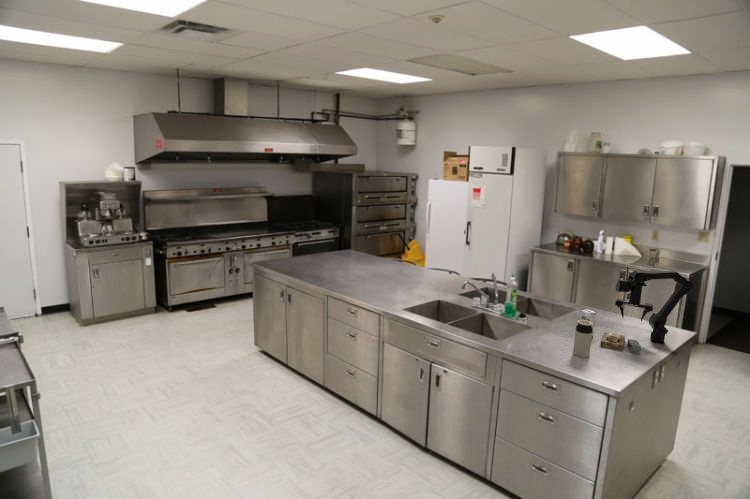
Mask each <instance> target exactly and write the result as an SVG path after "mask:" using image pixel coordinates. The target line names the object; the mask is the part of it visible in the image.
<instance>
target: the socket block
mask: <svg viewBox="0 0 750 499" xmlns="http://www.w3.org/2000/svg"><path fill="white" fill-rule="evenodd" d="M609 333H610V332H607V331H603V333H602V334H603V335H602V337H601V340H600V344H599V346H600V347H601V348H607V349H612V350H617V351H621V352H622V351H623V350H624V345H625V342H626V335H624V334H619V335H618V342H612V341H608V337H609Z"/></svg>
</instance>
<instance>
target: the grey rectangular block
mask: <svg viewBox="0 0 750 499" xmlns="http://www.w3.org/2000/svg"><path fill="white" fill-rule="evenodd" d="M626 349H627V351H628V352H629V354H631V355H638V356H640V355H641V350H642V346H641V344H640V343H639V341H638V340H637V339H629V338H627V343H626Z"/></svg>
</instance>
